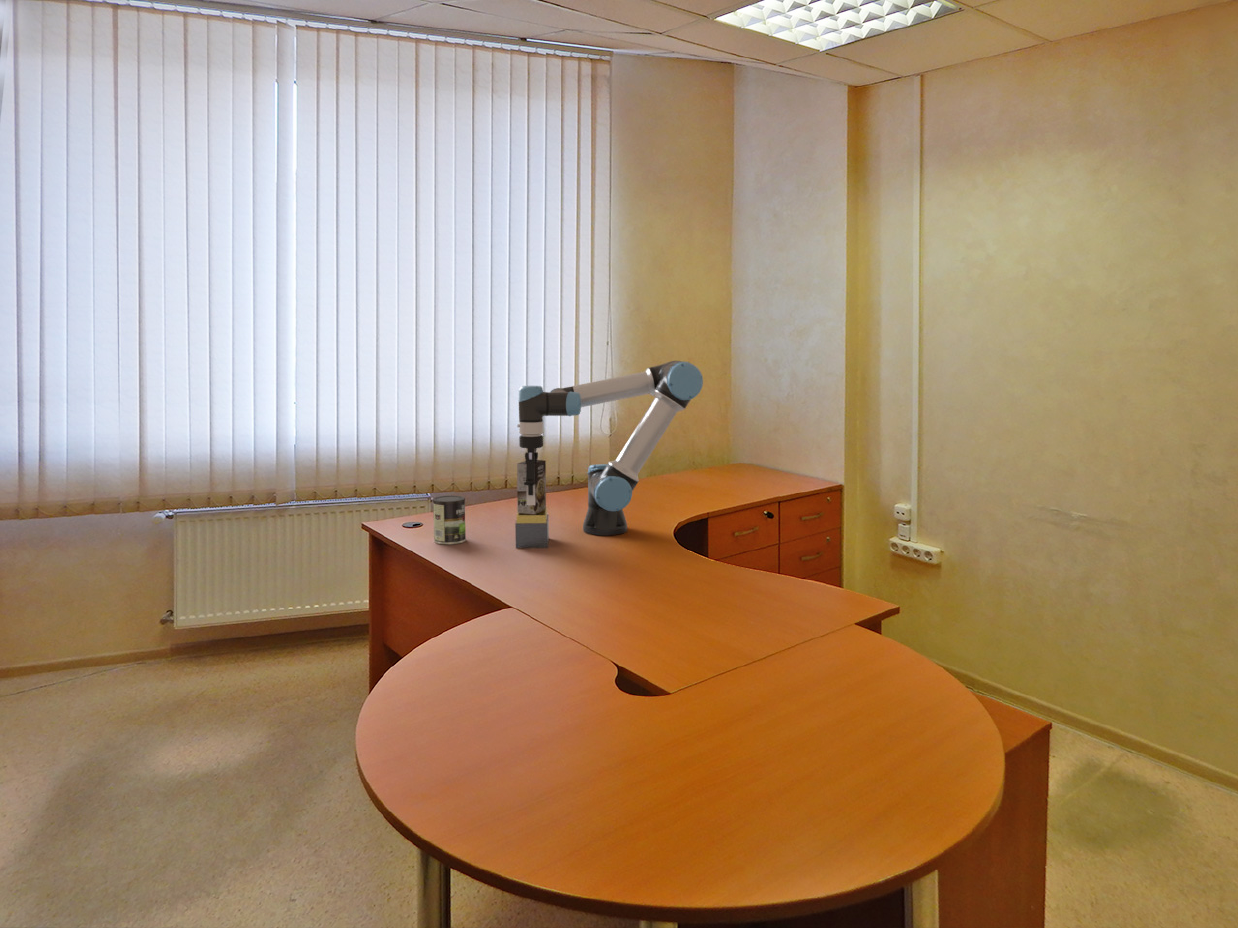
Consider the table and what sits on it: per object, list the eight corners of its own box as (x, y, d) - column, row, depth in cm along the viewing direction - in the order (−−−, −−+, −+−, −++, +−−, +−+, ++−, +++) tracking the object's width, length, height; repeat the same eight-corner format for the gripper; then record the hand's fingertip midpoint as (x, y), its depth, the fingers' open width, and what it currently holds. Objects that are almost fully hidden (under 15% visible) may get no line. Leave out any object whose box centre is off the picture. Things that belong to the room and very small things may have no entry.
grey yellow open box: (548, 538, 279) (548, 506, 277) (547, 547, 267) (547, 515, 265) (518, 538, 278) (517, 507, 277) (515, 548, 266) (515, 515, 265)
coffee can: (470, 537, 279) (469, 495, 277) (458, 545, 269) (457, 502, 267) (441, 536, 281) (440, 494, 279) (428, 543, 271) (427, 500, 269)
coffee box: (535, 514, 266) (534, 464, 263) (516, 513, 268) (516, 463, 265) (546, 509, 274) (546, 460, 272) (528, 507, 276) (528, 458, 274)
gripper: (521, 430, 279) (522, 493, 282) (516, 440, 254) (517, 509, 258) (544, 430, 279) (545, 492, 283) (541, 440, 255) (542, 508, 258)
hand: (532, 500), depth 270 cm, fingers open, 13 cm apart
